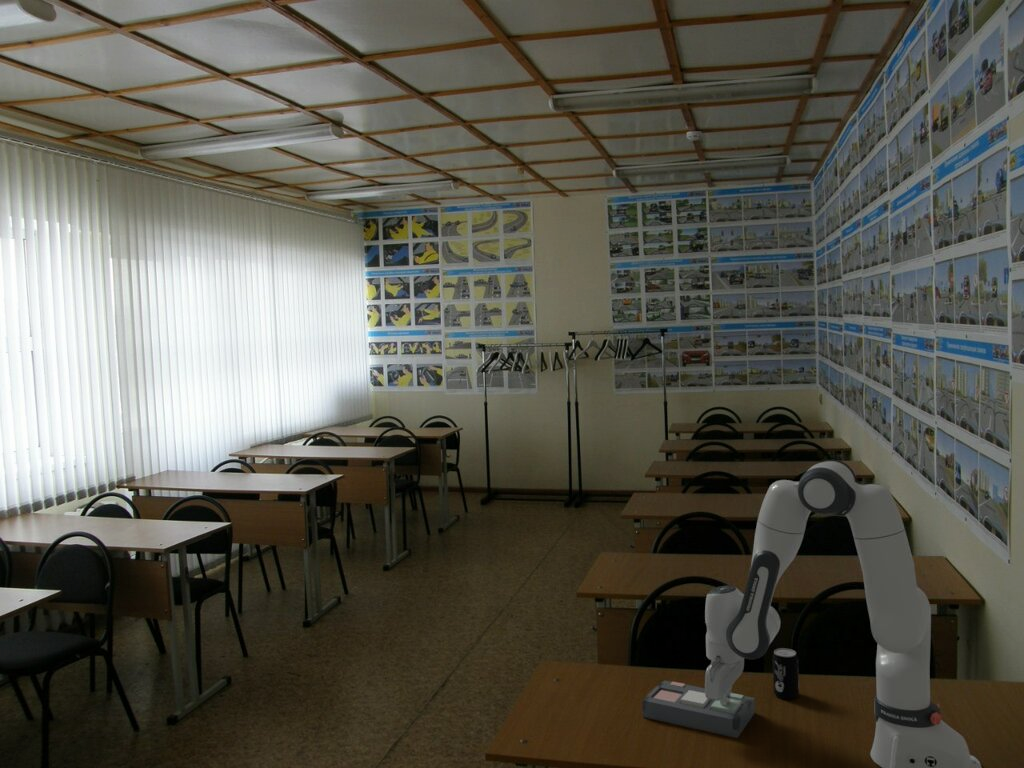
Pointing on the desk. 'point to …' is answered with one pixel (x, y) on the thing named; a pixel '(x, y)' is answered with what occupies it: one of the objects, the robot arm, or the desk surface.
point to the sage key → (727, 706)
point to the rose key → (667, 695)
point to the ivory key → (695, 699)
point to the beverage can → (785, 673)
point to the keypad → (697, 711)
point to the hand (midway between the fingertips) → (725, 703)
